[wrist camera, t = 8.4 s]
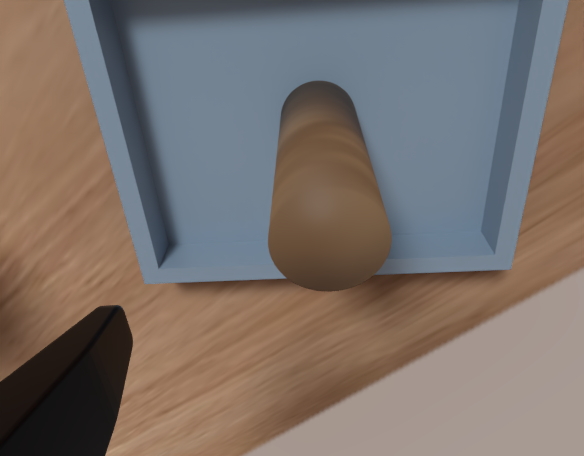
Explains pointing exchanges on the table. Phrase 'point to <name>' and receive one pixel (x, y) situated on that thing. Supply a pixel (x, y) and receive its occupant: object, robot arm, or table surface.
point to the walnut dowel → (325, 194)
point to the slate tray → (267, 113)
